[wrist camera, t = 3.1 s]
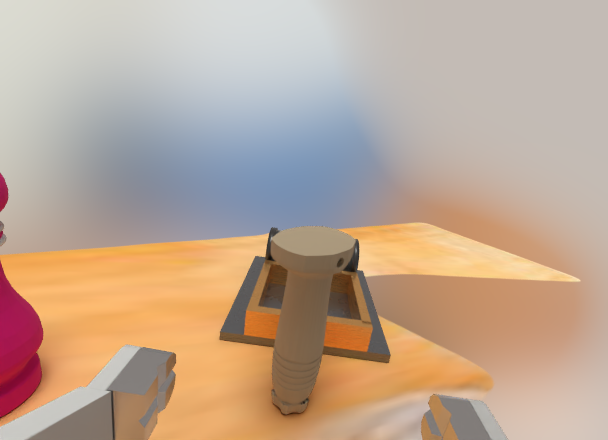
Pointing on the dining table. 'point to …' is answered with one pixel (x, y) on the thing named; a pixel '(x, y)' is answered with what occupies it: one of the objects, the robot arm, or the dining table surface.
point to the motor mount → (340, 317)
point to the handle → (304, 308)
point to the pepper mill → (16, 338)
